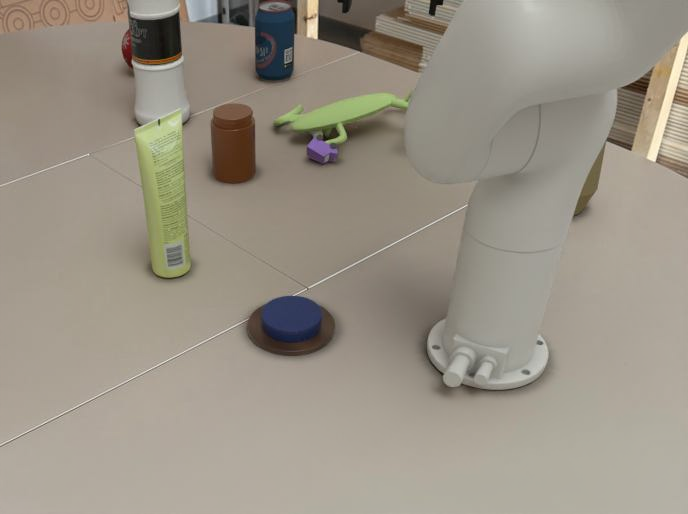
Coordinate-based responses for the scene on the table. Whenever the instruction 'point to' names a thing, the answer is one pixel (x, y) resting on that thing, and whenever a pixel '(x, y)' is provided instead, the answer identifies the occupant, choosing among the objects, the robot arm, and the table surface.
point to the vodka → (157, 59)
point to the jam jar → (233, 143)
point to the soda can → (274, 40)
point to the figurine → (337, 121)
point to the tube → (164, 193)
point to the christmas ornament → (127, 49)
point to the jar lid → (291, 319)
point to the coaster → (284, 347)
